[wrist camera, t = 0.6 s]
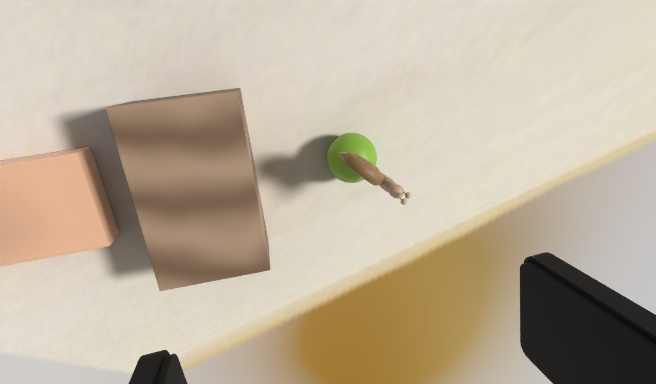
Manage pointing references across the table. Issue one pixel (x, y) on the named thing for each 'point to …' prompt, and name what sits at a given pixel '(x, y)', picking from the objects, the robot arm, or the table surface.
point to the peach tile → (53, 206)
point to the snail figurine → (359, 164)
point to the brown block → (193, 185)
